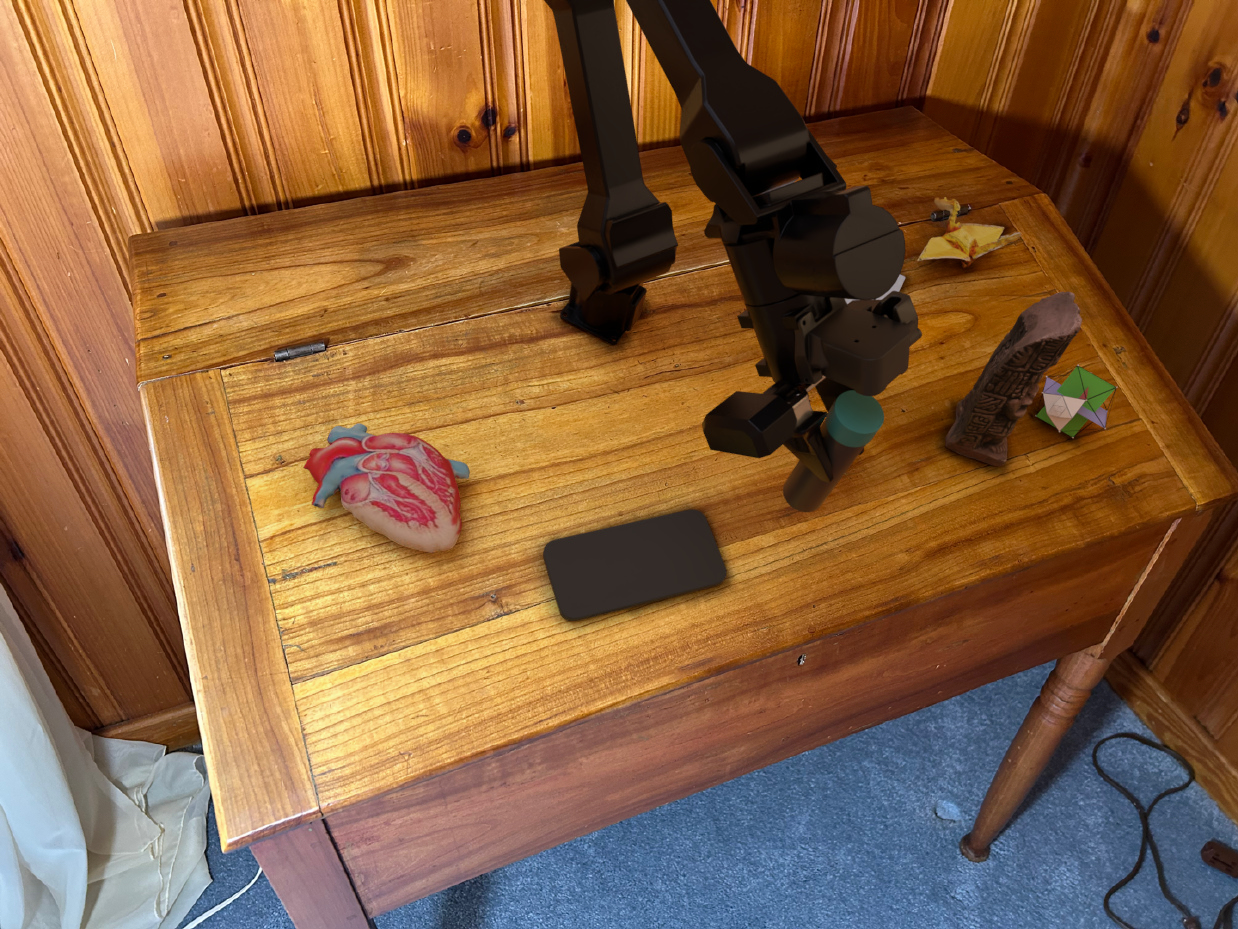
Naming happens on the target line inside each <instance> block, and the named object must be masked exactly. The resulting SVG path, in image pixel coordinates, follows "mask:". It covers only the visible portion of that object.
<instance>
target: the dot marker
mask: <svg viewBox="0 0 1238 929" xmlns="http://www.w3.org/2000/svg"><path fill="white" fill-rule="evenodd" d="M884 421H885V413H884V409H883V407H882V405H881V403H880V402H879V401H878V400H877V399H876V398H875V396H864V395H861V394H858V393H856V392H855V390H851V391H846V392H844V393H842V394H840V395H839V396H838V397H837V399H836V400H835V402H834V404H833V405H832V407H831V408H830V410H829V411H828V412H827V416H826V418H825V419H824V421H823V423H822V425H821V426H820V430H821V433H822V436H823V439H824V443H825V446H826V449H827V452H828V456H829V459H830V462H831V466H832V471H833V477H834V479H833V481H831V482H825V481H822V480H820V479H819V478H818V477H817V476H816V475H815V474H814V473H813V472H812V471H811V470H809V469H808V468H807V467H806V466H805V465H804V464H803V463H802V462H801V461H800V460H799V459H798V461H797V462H796V465H794V467H793V469H792V471H791V472H790V474H789V475H788V477H787V478H786V480H785V481H784V484H783V486H782V495H783V498H784V500H785V501H786V503H787V504H788V506H790V507H791V508H792V509H794V510H796V511H798V512H800V513H812V512H816V511H817V510H818V509H820V508H821V506H822V505H823V504H824V502H825V501H826V500H827V498H828V497H829V496H830V494H831V493H832V491H833V490H834V489H835V488H836V486H837V485H838V483H839V482H840V480H842V478H843V477H844V476H845V474H846V473H847V471H848V470H849V469H850V467H851V466H852V464H853V463H854V461H856V459H857V458H858V457H859V456H860V455H859V454H860V452H861V451H862V450H863V448H864V449H865V447H866V445H868V444H869V443H870V442H871V441H872V440H873V439H874V437H875V435H876V434H877V433H878V431H879V430H880V429H881V427H882V426H883V424H884Z"/></svg>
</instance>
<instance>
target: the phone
mask: <svg viewBox="0 0 1238 929" xmlns="http://www.w3.org/2000/svg"><path fill="white" fill-rule="evenodd" d="M542 557H543V562H544V565H545V569H546V573H547V575H548V578H549V582H550V585H551V589H552V593H553V596H554V598H555V601H556V605H557V608H558V611H559V613H560V615H561V617H562V618H563V619H565V620H566V621H569V622H579V621H583V620H588V619H591V618H595V617H599V616H603V615H607V614H610V613H615V612H619V611H623V610H627V609H631V608H632V609H633V608H635V607H640V606H643V605H647V604H651V603H655V602H659V601H664V600H667V599H671V598H676V597H679V596H683V595H687V594H690V593H695V592H699V591H703V590H707V589H711V588H714V587H718V586H719V585H721V584H722V583H724V581H725V579H726V578H727V575H728V574H727V572H728V571H727V567H726V564H725V561H724V560H723V556H722V554H721V552H720V550H719V546H718V544H717V542H716V540H715V536H714V534H713V532H712V529H711V526H710V524H709V522H708V519H707V517H706V516H705V514H704V513H703V512H702V511H700V510H698V509H686V510H680V511H676V512H672V513H667V514H664V515H663V514H662V515H658V516H653V517H650V518H645V519H641V520H637V521H632V522H627V523H623V524H618V525H614V526H610V527H605V528H601V529H600V528H599V529H597V530H596V529H595V530H592V531H588V532H583V533H578V534H574V535H570V536H564V537H561V538H560V537H559V538H556V539H553V540H550V541H549V542H547V543H546V544H545V545H544V547H543V552H542Z"/></svg>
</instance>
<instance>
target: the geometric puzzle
mask: <svg viewBox="0 0 1238 929" xmlns="http://www.w3.org/2000/svg"><path fill="white" fill-rule="evenodd" d="M1067 370H1068V368H1066V369H1065V371H1067ZM1071 371H1072V372H1071ZM1058 373H1060V371H1059V372H1056V373H1054V375H1052V374H1050V375H1046V376H1045V382H1044V385H1043V389H1042V392H1041V396H1040V400H1039V404H1038V408H1037V411H1036V414H1035V417H1036V418H1038V419H1040V420H1041V421H1042V422H1044V423H1045V424H1047V425H1048V426H1050V427H1051V428H1053V429H1054V430H1056V431H1057V432H1058V433H1061V434H1064V435H1065V436H1067V437H1070V438H1072V439H1074V438H1075V437H1080V436H1081V434H1080V433H1081V432H1083V431H1085V430H1086V428H1088V427H1089V426H1090V425H1091V424H1093V423H1094V424H1096V425H1098V426H1100V427H1101V428H1100V429H1097V432H1098V431H1102V430H1107V424H1108V420H1109V416H1110V413H1111V409H1112V406H1113V404H1112V403H1113V401H1114V399H1115V395H1116V391H1117V389H1118V388H1119V387H1118V386H1115V385H1113V384H1112V383H1110V382H1108V381H1107V380H1105V379H1103V378H1102V377H1099V376H1098V375H1096V374H1094V373H1093V372H1091V371H1089V370H1087V369H1085V368H1083V367H1082V366H1080V364H1077V365H1075V366H1073V367H1072V368H1071V370H1070V371H1068V372H1067V373H1065V374H1061V375H1059V377H1060V378H1059V379H1058V380H1057V381H1055V380H1054V379H1052V378H1054V377H1056V374H1058ZM1069 373H1070V374H1069ZM1067 376H1068V377H1067ZM1064 377H1066V379H1065V380H1064V381H1063V382H1062V384H1060V383H1059V381H1061V380H1062V379H1063V378H1064ZM1111 395H1112V397H1111V400H1110V402H1109V404H1108V407H1107V406H1106V404H1105V401H1107V399H1108V398H1109V397H1110V396H1111ZM1042 399H1043V402H1044V406H1043V407H1042V408H1041V409H1040V411H1039V408H1040V405H1041V402H1042ZM1102 405H1103V406H1104V408H1105V409H1104V408H1103V407H1101V406H1102ZM1109 407H1110V408H1109ZM1088 421H1091V422H1090V423H1089V424H1088V425H1086V423H1087V422H1088ZM1084 425H1086V426H1085V427H1084ZM1092 430H1095V431H1093V433H1095V432H1096V428H1091V429H1090V428H1089V429H1088V431H1091V432H1086V435H1088V434H1090V433H1092ZM1078 434H1079V435H1078ZM1083 435H1085V433H1083V434H1082V436H1083Z"/></svg>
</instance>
